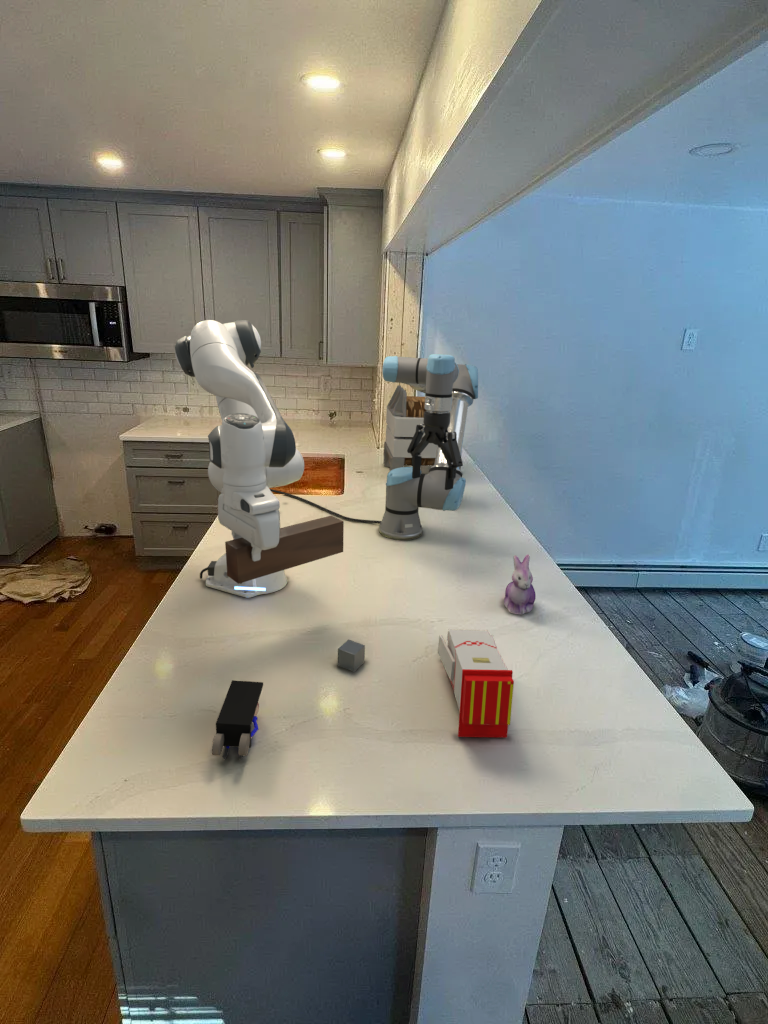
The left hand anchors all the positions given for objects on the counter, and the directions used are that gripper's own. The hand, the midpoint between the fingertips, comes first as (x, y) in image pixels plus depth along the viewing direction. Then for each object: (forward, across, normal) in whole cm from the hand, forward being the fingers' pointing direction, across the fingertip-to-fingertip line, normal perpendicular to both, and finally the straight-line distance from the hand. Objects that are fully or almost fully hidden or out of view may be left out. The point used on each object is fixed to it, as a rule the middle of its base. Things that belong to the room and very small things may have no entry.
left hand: (247, 554), depth 122 cm
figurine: (+24, +26, +66) cm, 75 cm away
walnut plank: (+5, 0, +10) cm, 11 cm away
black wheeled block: (+24, +24, -16) cm, 37 cm away
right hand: (-4, -7, +64) cm, 65 cm away
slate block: (+24, +19, +14) cm, 33 cm away
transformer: (+22, -83, +137) cm, 162 cm away
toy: (+24, +42, +28) cm, 55 cm away
